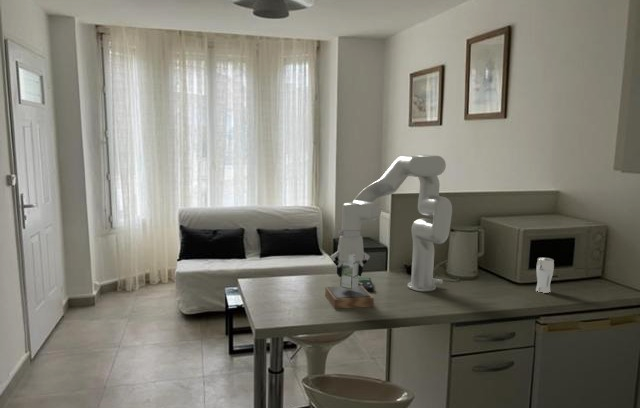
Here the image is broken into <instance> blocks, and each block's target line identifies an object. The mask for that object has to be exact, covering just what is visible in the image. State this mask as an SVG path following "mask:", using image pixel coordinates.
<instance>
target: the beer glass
mask: <svg viewBox="0 0 640 408" xmlns="http://www.w3.org/2000/svg"><path fill="white" fill-rule="evenodd" d="M554 262H555V260H554V259H553V258H550V257H538V258H537V262H536V269H535V270H536V281H537V283H536V287H535V292H537V291H538V292H537V293H539V292H543V293H542V294H544V293H549V292H550V293H551V281H552V278H553V275H554V268H555V263H554ZM550 293H549V294H550Z"/></svg>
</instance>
